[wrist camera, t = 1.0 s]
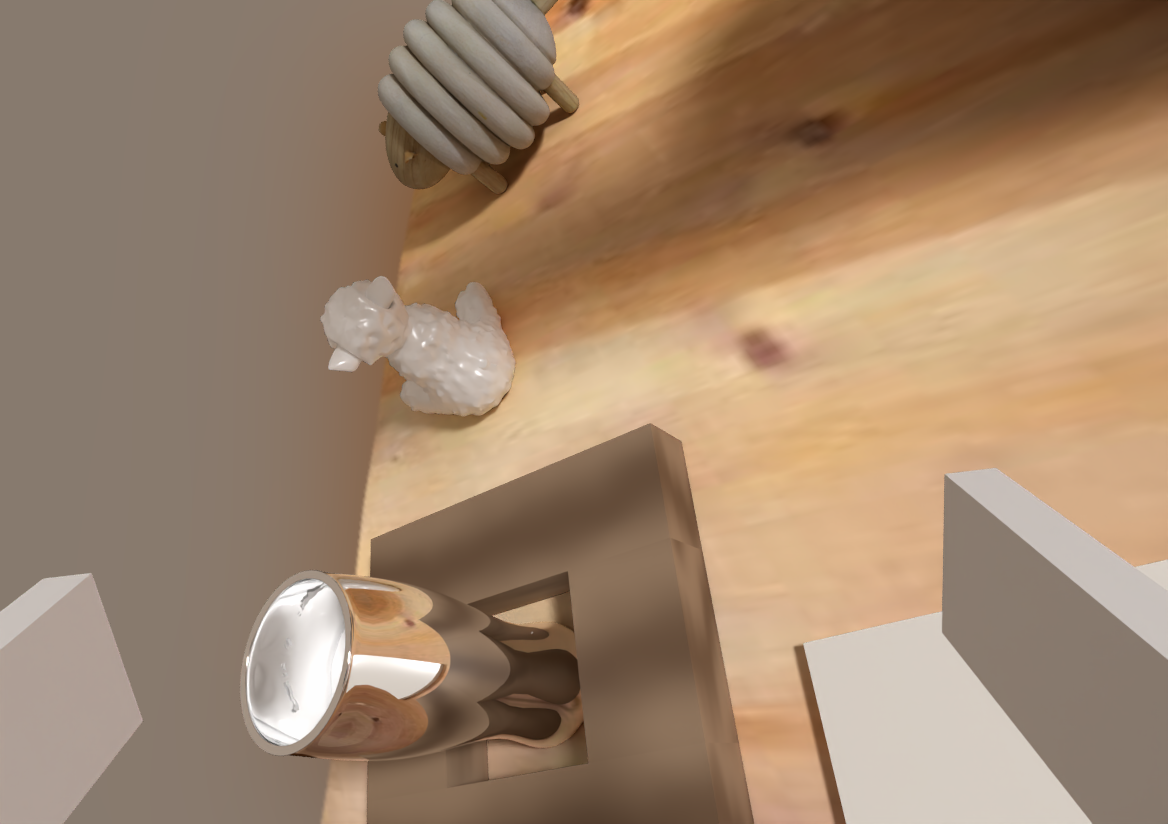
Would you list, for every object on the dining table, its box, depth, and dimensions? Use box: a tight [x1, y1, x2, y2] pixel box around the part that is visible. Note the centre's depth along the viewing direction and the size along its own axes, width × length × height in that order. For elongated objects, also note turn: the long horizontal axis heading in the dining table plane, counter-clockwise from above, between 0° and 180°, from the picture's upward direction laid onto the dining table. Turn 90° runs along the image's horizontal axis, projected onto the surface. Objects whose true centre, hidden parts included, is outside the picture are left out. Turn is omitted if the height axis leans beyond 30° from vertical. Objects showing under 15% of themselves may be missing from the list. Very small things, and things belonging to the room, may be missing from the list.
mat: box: [803, 560, 1168, 824], centre depth 26 cm, size 14×14×1 cm
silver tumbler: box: [240, 570, 584, 761], centre depth 34 cm, size 7×7×15 cm
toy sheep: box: [378, 0, 579, 194], centre depth 52 cm, size 11×17×11 cm, turn 126°
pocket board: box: [367, 423, 754, 824], centre depth 39 cm, size 20×20×3 cm
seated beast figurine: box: [320, 276, 516, 416], centre depth 46 cm, size 10×9×12 cm
